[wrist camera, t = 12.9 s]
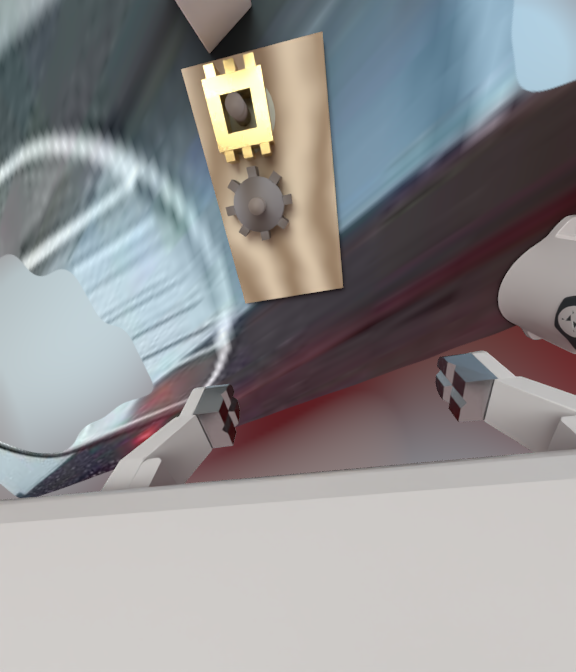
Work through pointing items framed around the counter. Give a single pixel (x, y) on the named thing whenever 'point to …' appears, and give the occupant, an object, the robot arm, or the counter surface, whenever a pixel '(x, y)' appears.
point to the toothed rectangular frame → (246, 86)
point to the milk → (213, 18)
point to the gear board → (278, 175)
